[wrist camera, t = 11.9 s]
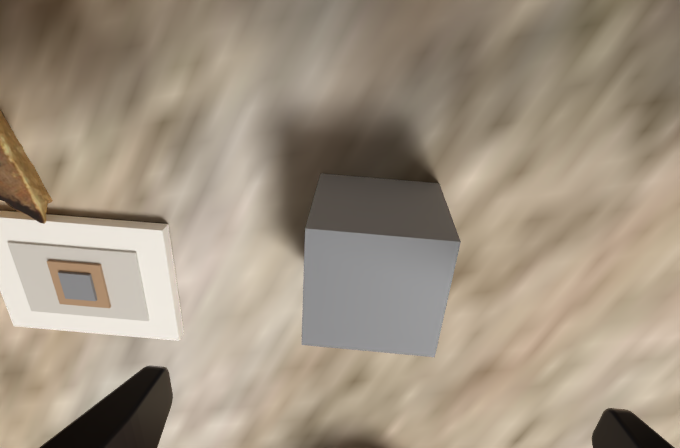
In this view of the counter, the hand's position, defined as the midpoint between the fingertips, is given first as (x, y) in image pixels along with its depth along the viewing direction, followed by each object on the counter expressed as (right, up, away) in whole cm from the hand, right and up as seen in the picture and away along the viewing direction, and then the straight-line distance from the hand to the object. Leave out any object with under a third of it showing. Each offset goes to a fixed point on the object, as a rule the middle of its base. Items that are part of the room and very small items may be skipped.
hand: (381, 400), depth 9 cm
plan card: (-11, +2, +8) cm, 14 cm away
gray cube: (0, +3, +7) cm, 8 cm away
